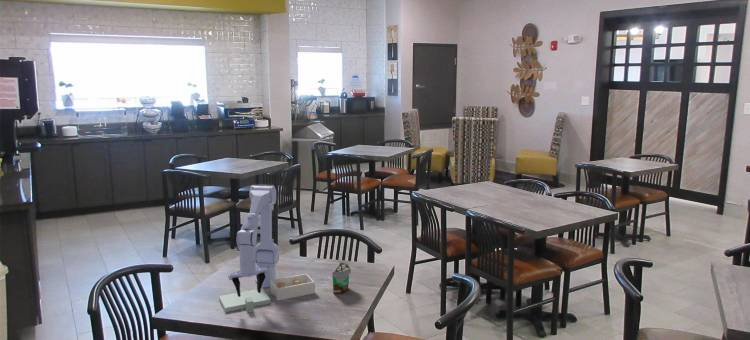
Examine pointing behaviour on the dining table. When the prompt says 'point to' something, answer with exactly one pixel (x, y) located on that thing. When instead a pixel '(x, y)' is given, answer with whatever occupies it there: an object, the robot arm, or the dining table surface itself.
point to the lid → (244, 300)
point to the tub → (292, 286)
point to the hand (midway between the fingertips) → (248, 293)
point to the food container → (341, 278)
